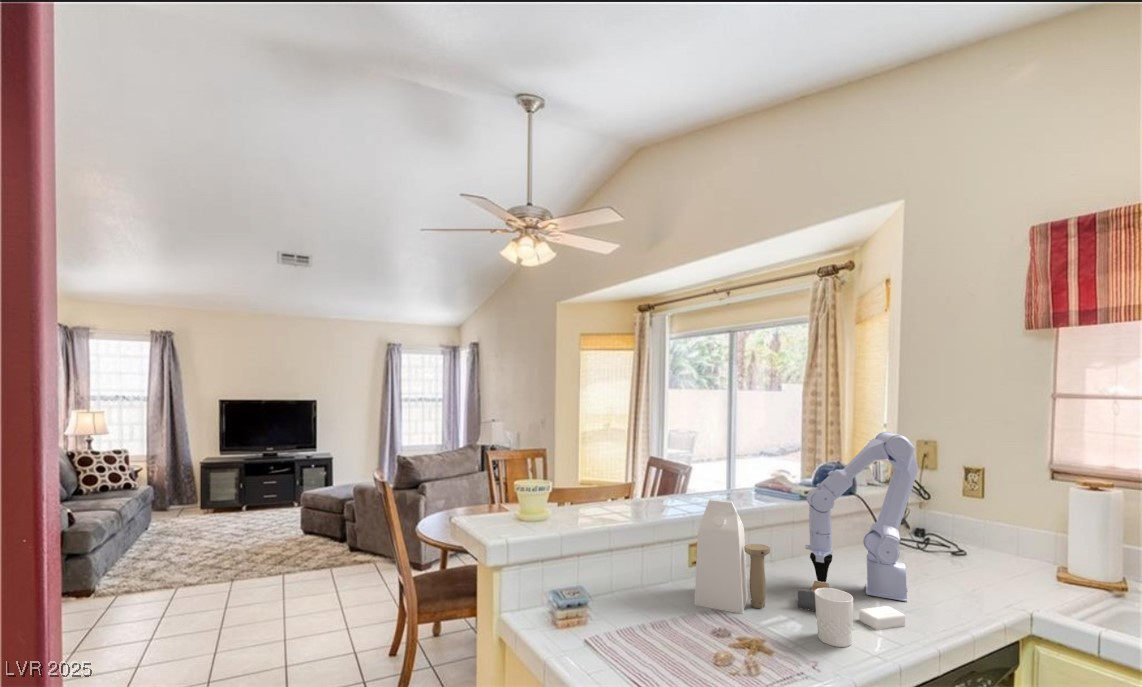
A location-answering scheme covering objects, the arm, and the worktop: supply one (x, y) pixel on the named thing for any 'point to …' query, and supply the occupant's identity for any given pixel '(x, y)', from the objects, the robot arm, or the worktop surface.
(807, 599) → the bracket
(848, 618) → the white cup
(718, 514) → the milk
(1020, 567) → the worktop surface
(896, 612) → the soap
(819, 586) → the tan rectangular block
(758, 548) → the handle
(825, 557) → the robot arm
